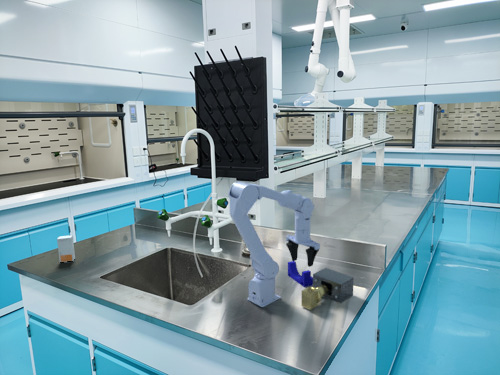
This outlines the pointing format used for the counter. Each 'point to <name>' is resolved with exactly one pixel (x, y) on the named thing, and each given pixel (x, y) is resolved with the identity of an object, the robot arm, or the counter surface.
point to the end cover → (313, 296)
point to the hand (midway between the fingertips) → (302, 263)
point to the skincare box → (66, 248)
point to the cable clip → (294, 274)
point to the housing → (334, 284)
